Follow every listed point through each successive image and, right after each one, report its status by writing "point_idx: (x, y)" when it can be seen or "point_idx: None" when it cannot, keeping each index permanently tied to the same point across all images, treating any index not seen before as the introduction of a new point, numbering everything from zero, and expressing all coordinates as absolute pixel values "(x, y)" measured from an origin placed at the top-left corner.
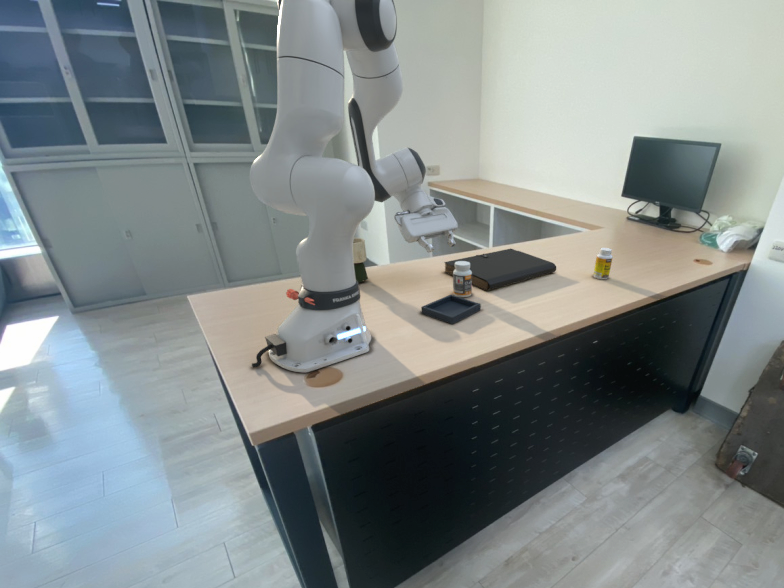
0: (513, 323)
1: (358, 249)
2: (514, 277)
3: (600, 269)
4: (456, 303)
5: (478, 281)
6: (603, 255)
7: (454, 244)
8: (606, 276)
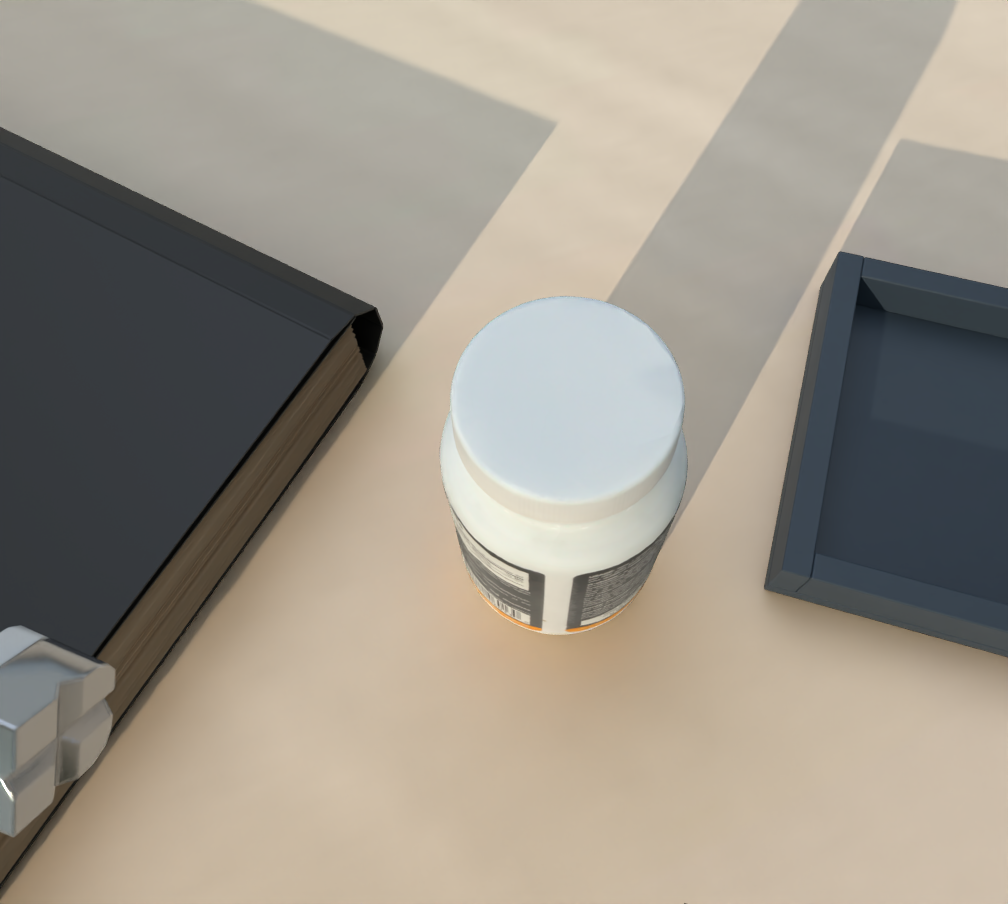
0: (900, 48)
1: None
2: (89, 173)
3: None
4: (839, 491)
5: (270, 454)
6: None
7: (61, 647)
8: None
